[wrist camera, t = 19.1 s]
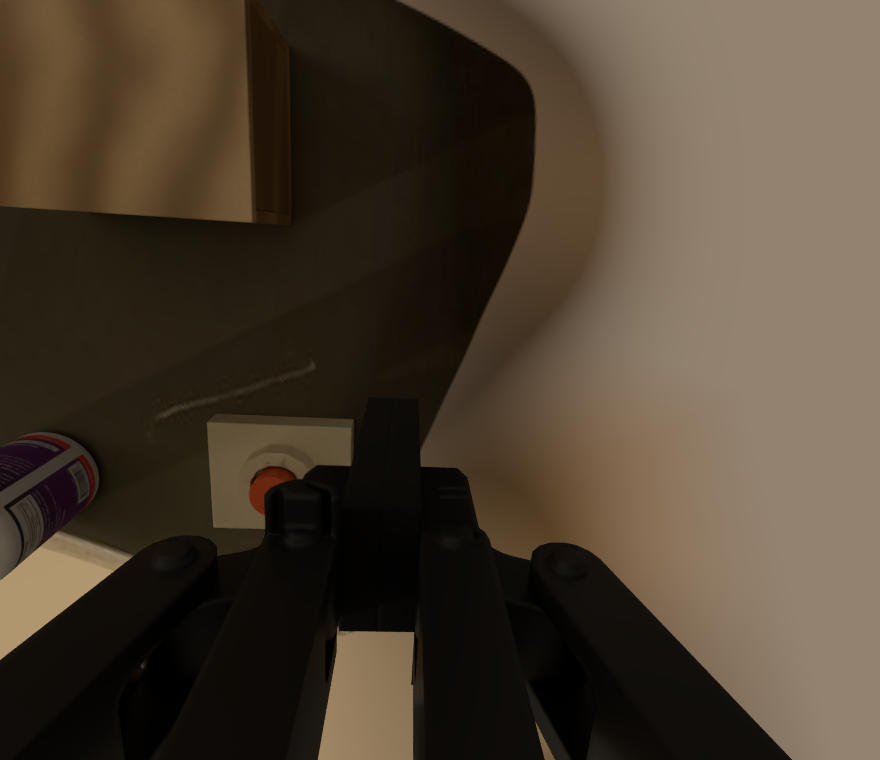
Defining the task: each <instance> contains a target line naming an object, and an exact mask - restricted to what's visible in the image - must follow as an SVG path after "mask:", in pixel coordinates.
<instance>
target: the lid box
mask: <svg viewBox="0 0 880 760" xmlns="http://www.w3.org/2000/svg"><path fill="white" fill-rule="evenodd" d="M248 1H249V31H250V61H251V92H252V122H253V152H254V183H255V213H256V222H255V223H262V224H277V225H292V185H291V116H290V47H289V45H288V43H287V42H286V40H285V39H284V37H283V36H282V34H281V33H280V31H279V30H278V28H277V27H276V25H275V23H274V22H273V20H272V19H271V17H270V16H269V14H268V13H267V11H266V10H265V8H264V7H263V5H262V4H261V2H260V0H248ZM65 211H66V210H65ZM80 212H81V211H80ZM95 213H96V212H95ZM171 218H172V217H171ZM186 219H187V218H186Z"/></svg>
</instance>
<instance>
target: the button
mask: <svg viewBox="0 0 880 760" xmlns="http://www.w3.org/2000/svg"><path fill="white" fill-rule="evenodd" d="M294 479H296V478H295V477H294V475H293V474H292V473H290V472H289V471H287V470H285V469H283V468H277V467H274V468H268V469H266V470H264V471H262V472H261V473H260V474H259V475H258V477H257V478H256V480H255V481H254V483H253V484H252V486H251V488H250V491H249V500H250V503H251V505H252V506H253V508H254V509H255V510H256V511H258V512H259V513H261V514H263V515H265V510H264V494H265V493H266V492H267V491H268V490H269V489H270V488H271V487H273V486H275V485H277V484H279V483H282V482H286V481H290V480H294Z"/></svg>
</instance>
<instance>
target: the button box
mask: <svg viewBox="0 0 880 760" xmlns="http://www.w3.org/2000/svg"><path fill="white" fill-rule="evenodd" d="M207 432H208V448H209V463H210V479H211V494H212V510H213V525H214V528H251V529H265V515H263V514H261V513H259V512H258V511H256V510H255V509H254V508H253V506H252V505H251V503H250V500H249V491H250V488H251V486H252V484H253V483H254V481H255V480H256V478H257V477H258V475H259V474H260V473H261V472H262V471H264V470H266V469H268V468H274V467H277V468H283V469H285V470H287V471H289V472H290V473H292V474H293V475H294V477H295V478H296V479H303V477H304V475H305V473H307V472H308V471H310V470H311V469H312V468H314V467H315V466H316V465H338V466H351V465H352V461H353V457H354V419H335V418H311V417H286V416H262V415H237V414H215V415H214V416H213V417H212V418H211V419H210V420H209V421H208V422H207Z"/></svg>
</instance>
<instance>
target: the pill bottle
mask: <svg viewBox="0 0 880 760" xmlns="http://www.w3.org/2000/svg"><path fill="white" fill-rule="evenodd" d="M98 486H99V472H98V468H97V465H96V463H95V461H94V459H93V458H92V456H91V455H90V454H89V452H88V451H87V450H86V449H85V448H84V447H82V446H81V445H80V444H79V443H77V442H76V441H74V440H72V439H70V438H68V437H66V436H63V435H60V434H56V433H49V432H37V433H31V434H27V435H24V436H21V437H19V438H17V439H15V440H13V441H11V442H9V443H7V444H6V445H4V446H2V447H0V580H1V579H3V578H4V577H5V576H6V575H8V574H9V573H10V572H11V571H12V570H13V569H14V568H16V567H17V566H18V565H19V564H20V563H21V562H22V561H24V560H25V559H26V558H27V557H28V556H29V555H30V554H32V553H33V552H34V551H35V550H36V549H37V548H39V547H40V546H41V545H42V544H43V543H45V542H46V541H47V540H48V539H49V538H50V537H52V536H53V535H54V534H55V533H56V532H57V531H59V530H60V529H61V528H62V527H63V526H64V525H66V524H67V523H68V522H69V521H70V520H71V519H73V518H74V517H75V516H76V515H77V514H79V513H80V512H81V511H82V510H83V509H84V508H85V507H87V506H88V505H89V503H90V502H91V501H92V499H93V498H94V496H95V495H96V492H97V490H98Z"/></svg>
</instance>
